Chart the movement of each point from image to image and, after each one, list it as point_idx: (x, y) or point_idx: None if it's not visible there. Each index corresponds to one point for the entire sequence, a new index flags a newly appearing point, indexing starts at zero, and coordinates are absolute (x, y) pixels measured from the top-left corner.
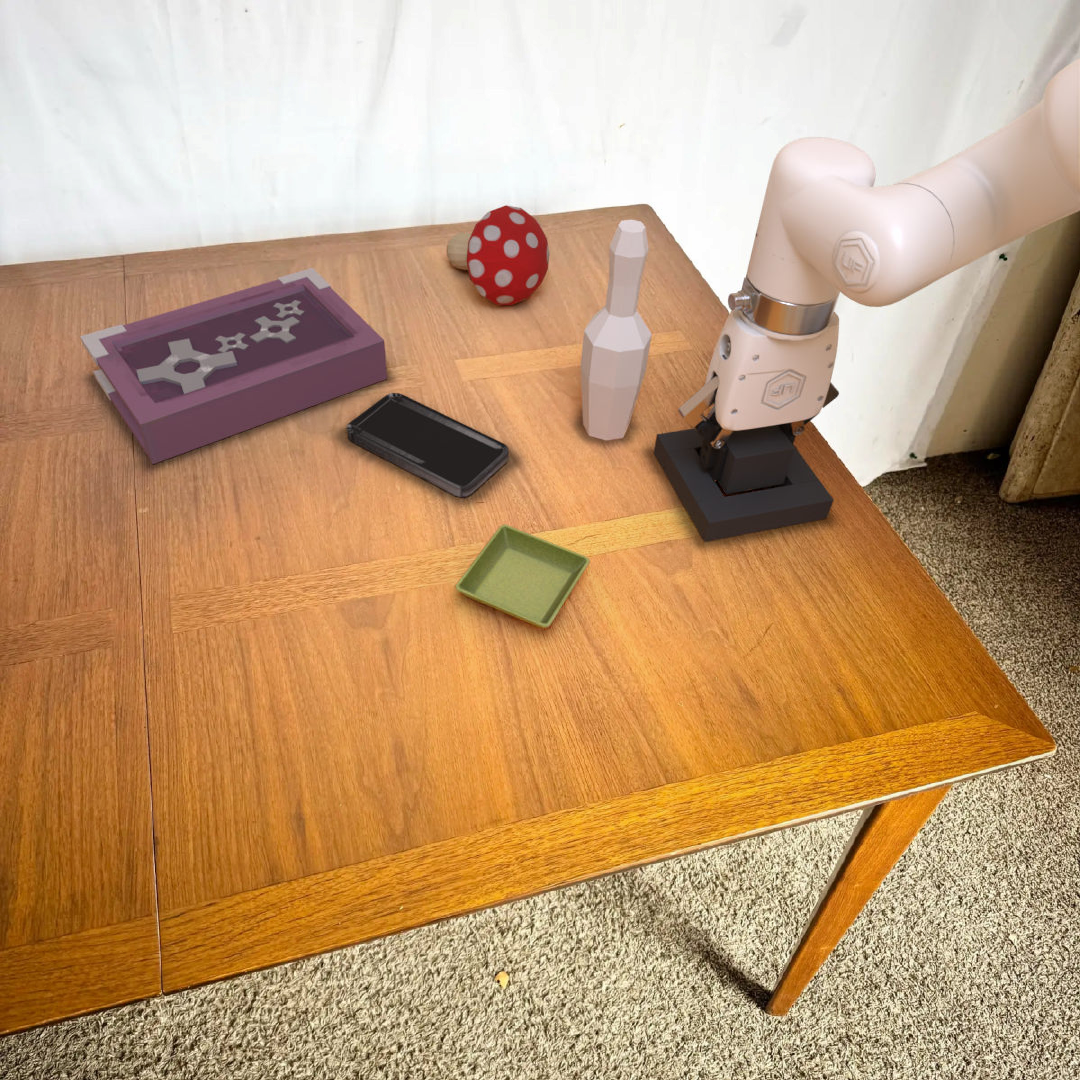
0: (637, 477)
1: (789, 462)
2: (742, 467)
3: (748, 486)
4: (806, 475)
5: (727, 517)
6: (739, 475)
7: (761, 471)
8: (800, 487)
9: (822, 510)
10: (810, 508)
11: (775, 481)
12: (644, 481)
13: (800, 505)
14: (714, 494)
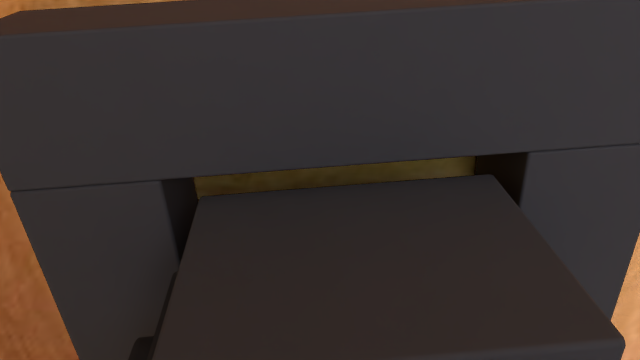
0: (633, 303)
1: (180, 287)
2: (508, 278)
3: (390, 194)
4: (72, 225)
5: (604, 11)
6: (488, 239)
7: (354, 251)
8: (125, 156)
9: (32, 19)
10: (101, 22)
11: (247, 206)
12: (625, 287)
13: (164, 28)
14: (563, 172)
